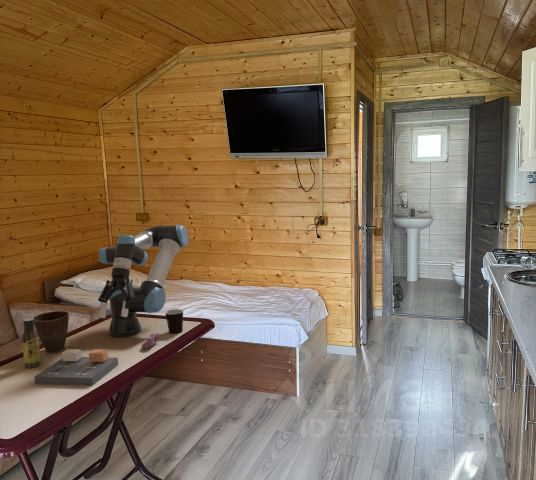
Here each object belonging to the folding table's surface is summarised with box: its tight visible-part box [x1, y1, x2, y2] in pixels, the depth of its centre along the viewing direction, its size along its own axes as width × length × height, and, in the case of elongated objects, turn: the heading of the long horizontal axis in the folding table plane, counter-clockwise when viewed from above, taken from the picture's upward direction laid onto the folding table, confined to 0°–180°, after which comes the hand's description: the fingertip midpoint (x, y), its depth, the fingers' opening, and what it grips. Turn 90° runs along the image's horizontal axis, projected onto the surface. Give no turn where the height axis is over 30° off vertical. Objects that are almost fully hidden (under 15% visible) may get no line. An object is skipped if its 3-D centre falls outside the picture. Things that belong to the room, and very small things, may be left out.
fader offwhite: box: [61, 348, 83, 361], centre depth 207 cm, size 4×6×4 cm, turn 79°
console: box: [34, 356, 119, 386], centre depth 200 cm, size 20×24×3 cm
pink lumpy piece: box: [141, 331, 161, 350], centre depth 228 cm, size 10×5×7 cm, turn 168°
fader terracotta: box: [88, 349, 109, 362], centre depth 205 cm, size 4×6×4 cm, turn 79°
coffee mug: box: [164, 308, 184, 335], centre depth 244 cm, size 12×9×10 cm
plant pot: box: [33, 310, 70, 354], centre depth 229 cm, size 15×15×16 cm
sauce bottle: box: [21, 317, 42, 369], centre depth 211 cm, size 6×6×20 cm
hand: (112, 317), depth 216 cm, fingers open, 13 cm apart
